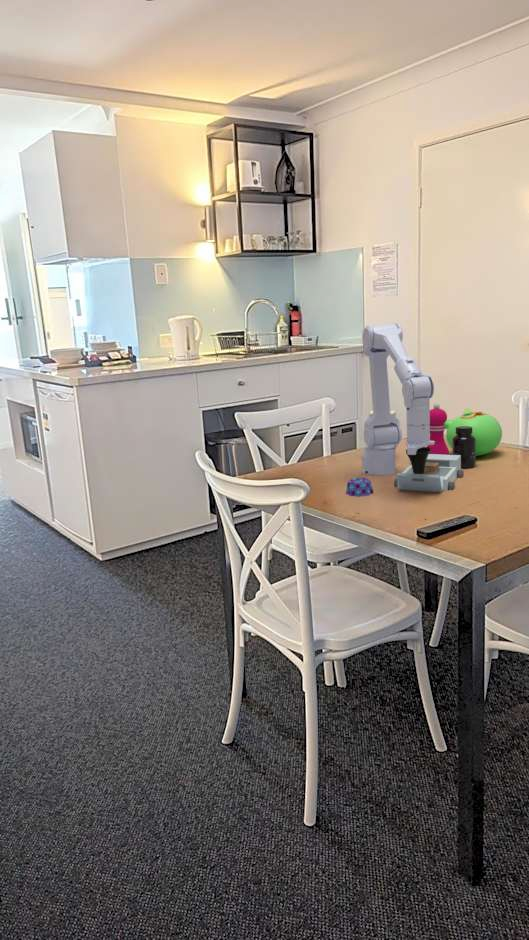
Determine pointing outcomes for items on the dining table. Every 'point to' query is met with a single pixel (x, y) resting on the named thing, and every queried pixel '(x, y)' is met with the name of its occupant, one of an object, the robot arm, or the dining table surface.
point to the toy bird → (477, 430)
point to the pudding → (359, 487)
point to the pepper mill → (438, 431)
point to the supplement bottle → (465, 446)
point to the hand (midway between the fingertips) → (418, 475)
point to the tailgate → (419, 482)
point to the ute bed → (443, 469)
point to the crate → (431, 468)
